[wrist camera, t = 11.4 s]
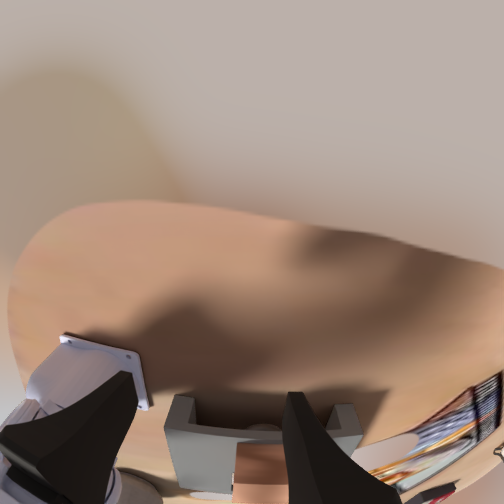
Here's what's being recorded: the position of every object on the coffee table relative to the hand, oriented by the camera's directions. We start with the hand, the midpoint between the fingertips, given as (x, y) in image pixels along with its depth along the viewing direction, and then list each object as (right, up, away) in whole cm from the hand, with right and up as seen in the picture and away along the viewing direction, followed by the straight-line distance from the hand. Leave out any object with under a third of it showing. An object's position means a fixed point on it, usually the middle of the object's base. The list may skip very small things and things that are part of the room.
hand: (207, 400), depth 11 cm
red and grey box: (+46, -56, +26) cm, 77 cm away
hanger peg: (+3, -12, +12) cm, 17 cm away
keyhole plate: (+3, -15, +15) cm, 21 cm away
